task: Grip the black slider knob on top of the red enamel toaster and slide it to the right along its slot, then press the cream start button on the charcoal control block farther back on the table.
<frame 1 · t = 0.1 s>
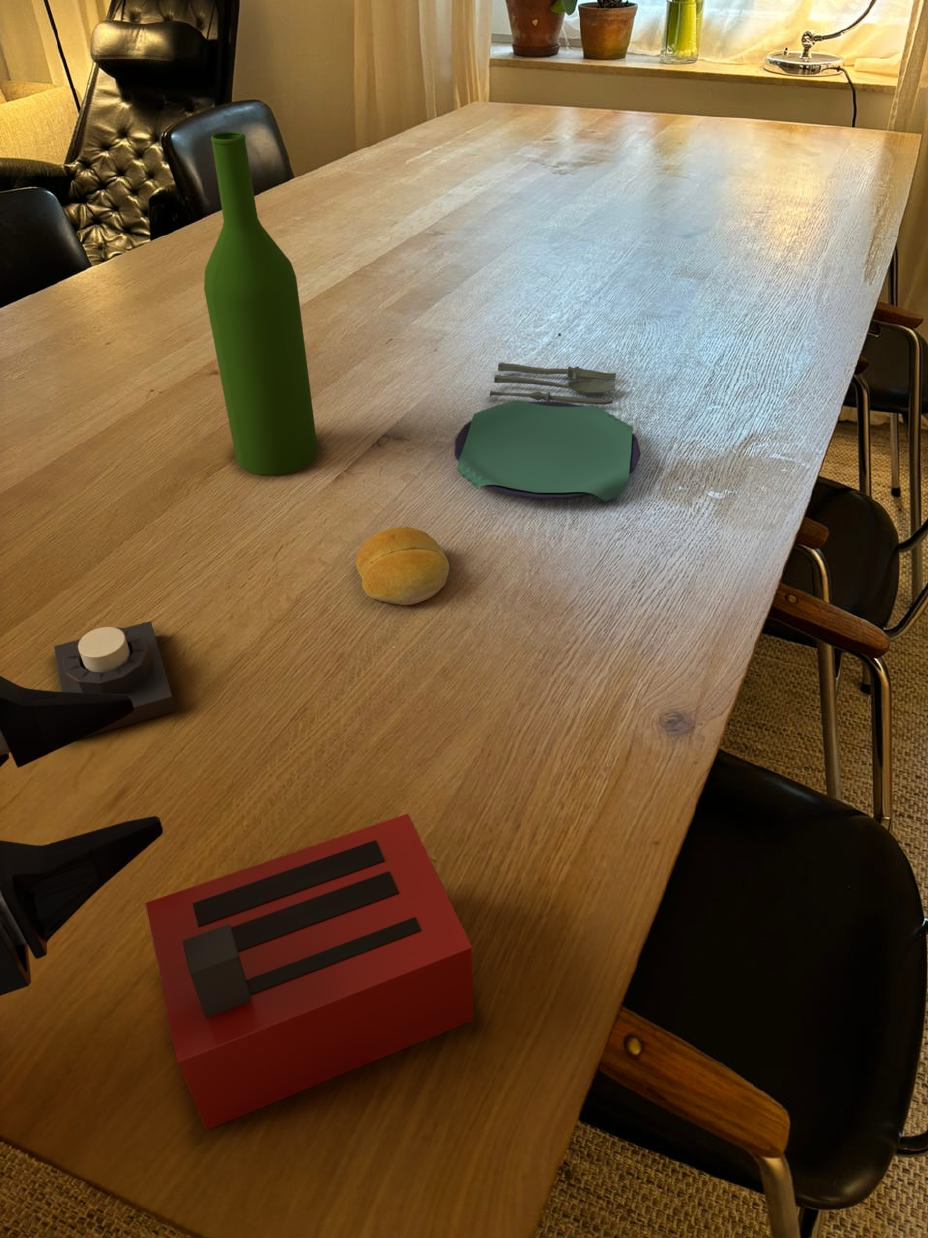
hand: (145, 759, 53), 17 cm above the table, tool horizontal, fingers open, 9 cm apart
wine bottle: (277, 456, 109), on the table
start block: (116, 685, 81), on the table
start button: (104, 649, 79), point 4 cm above the table, slide at 0.1 cm
bread roll: (402, 578, 92), on the table
toaster: (320, 998, 60), on the table
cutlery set: (550, 439, 111), on the table
slider: (217, 971, 50), point 10 cm above the table, slide at 0.0 cm
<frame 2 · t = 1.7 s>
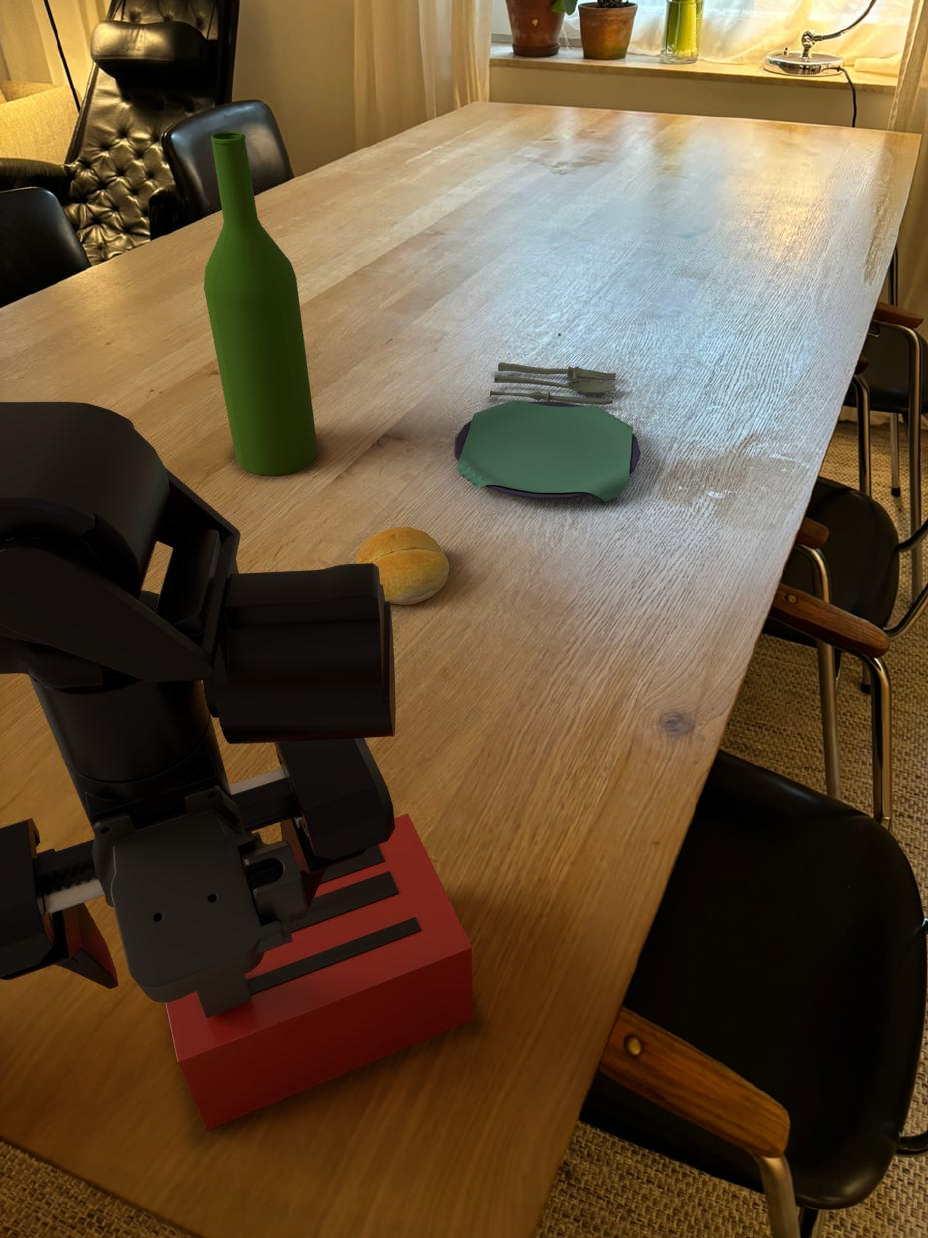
hand: (208, 945, 49), 13 cm above the table, tool pointing down, fingers open, 9 cm apart
nothing on the table moved.
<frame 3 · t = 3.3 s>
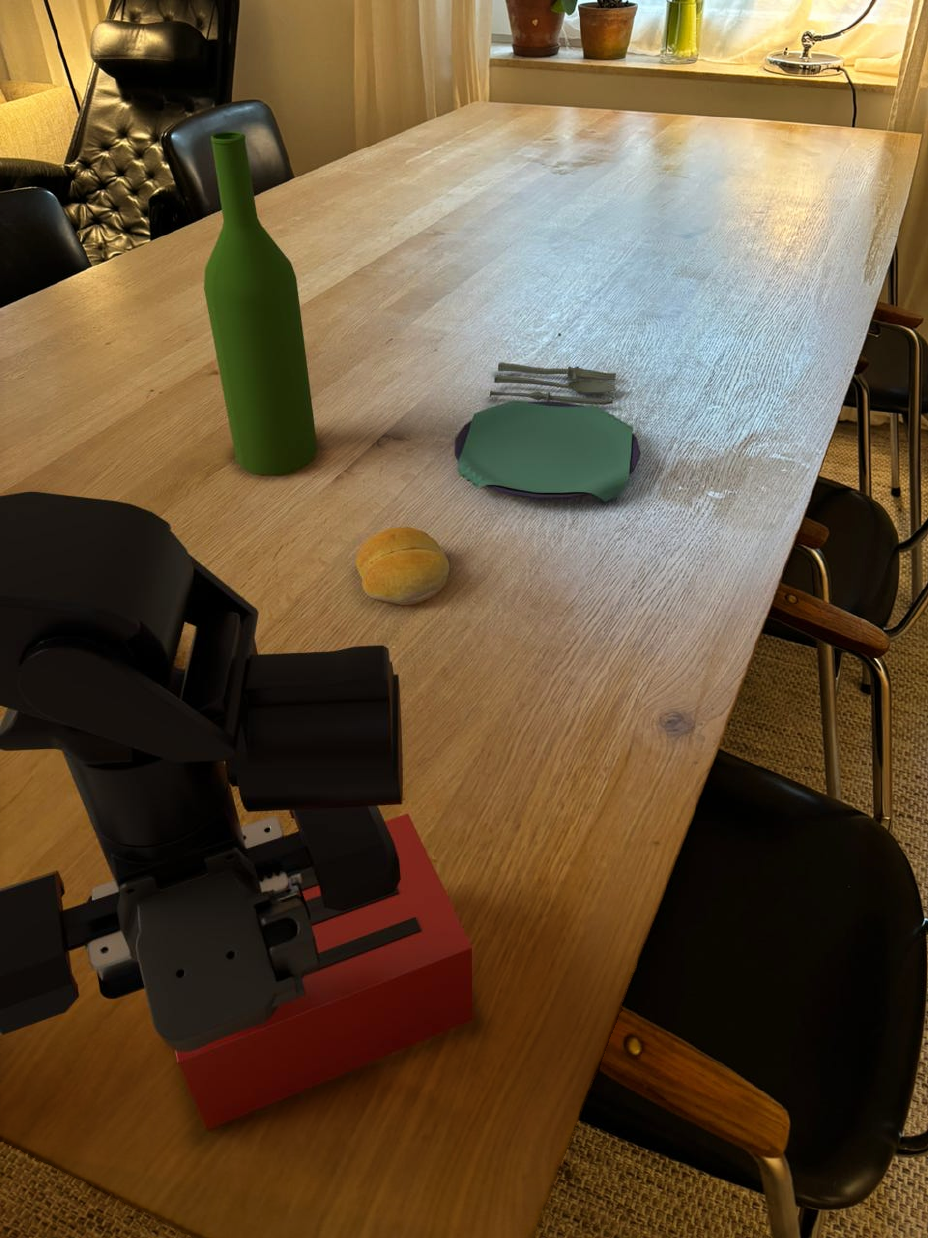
hand: (222, 986, 51), 9 cm above the table, tool pointing down, fingers closed on slider, 2 cm apart
slider: (217, 971, 50), point 10 cm above the table, slide at 0.0 cm, touching gripper
everything else where it was.
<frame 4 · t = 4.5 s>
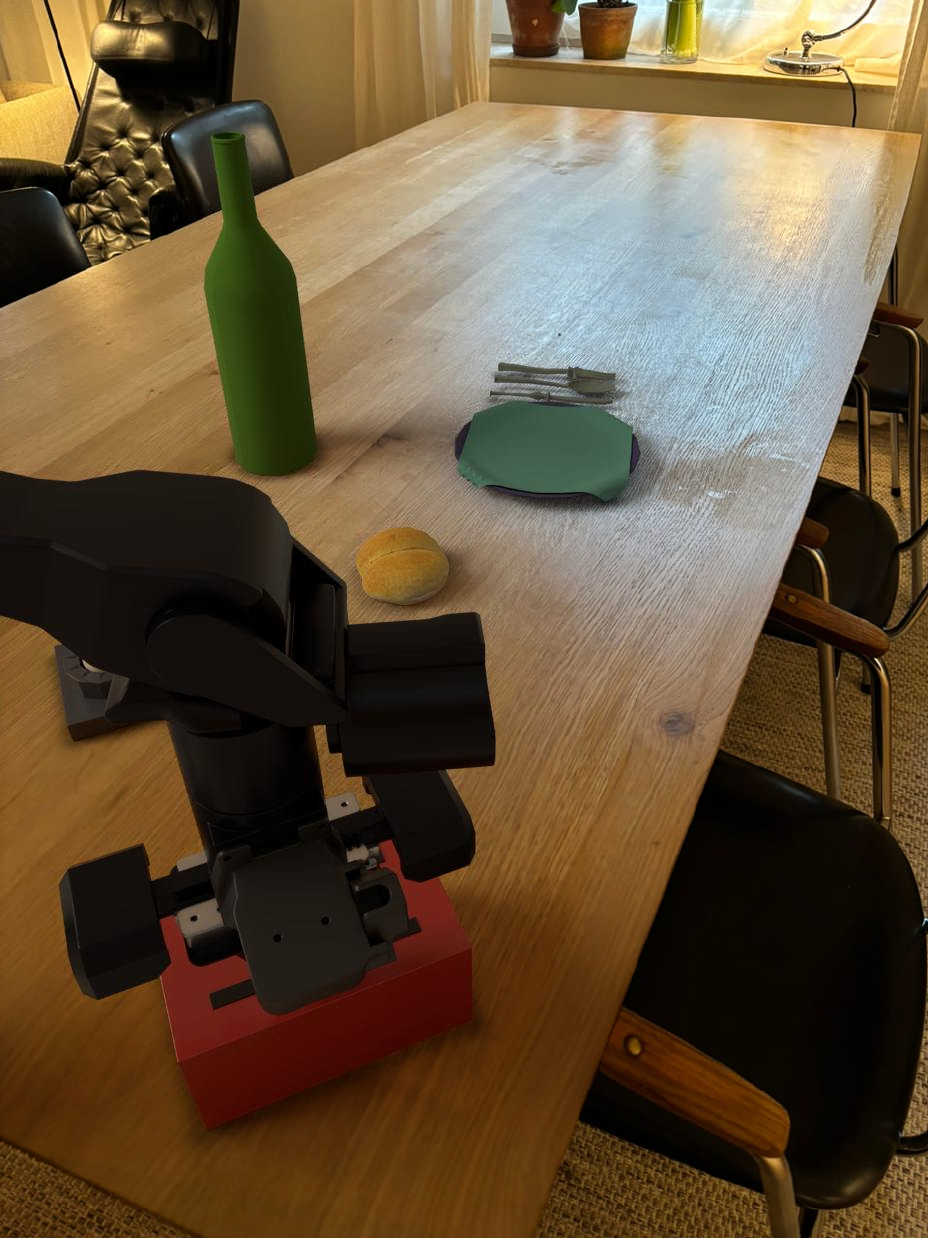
hand: (295, 959, 52), 9 cm above the table, tool pointing down, fingers closed on slider, 2 cm apart
slider: (292, 944, 51), point 10 cm above the table, slide at 3.9 cm, touching gripper
everything else where it was.
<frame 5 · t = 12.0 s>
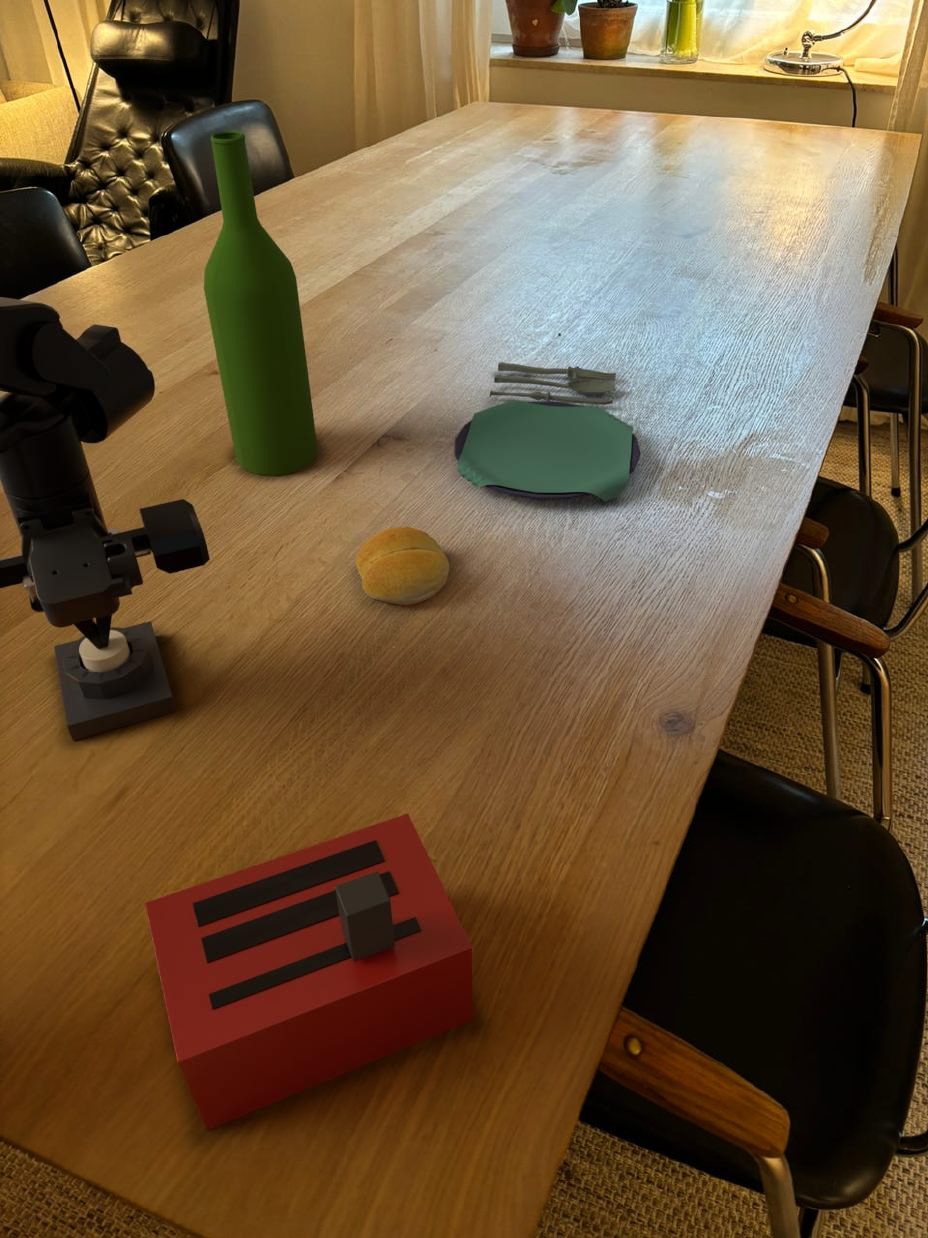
hand: (102, 644, 78), 5 cm above the table, tool pointing down, fingers closed, pressing on start button
start button: (105, 652, 79), point 4 cm above the table, slide at -0.2 cm, touching gripper
slider: (365, 917, 53), point 10 cm above the table, slide at 7.9 cm
everything else where it was.
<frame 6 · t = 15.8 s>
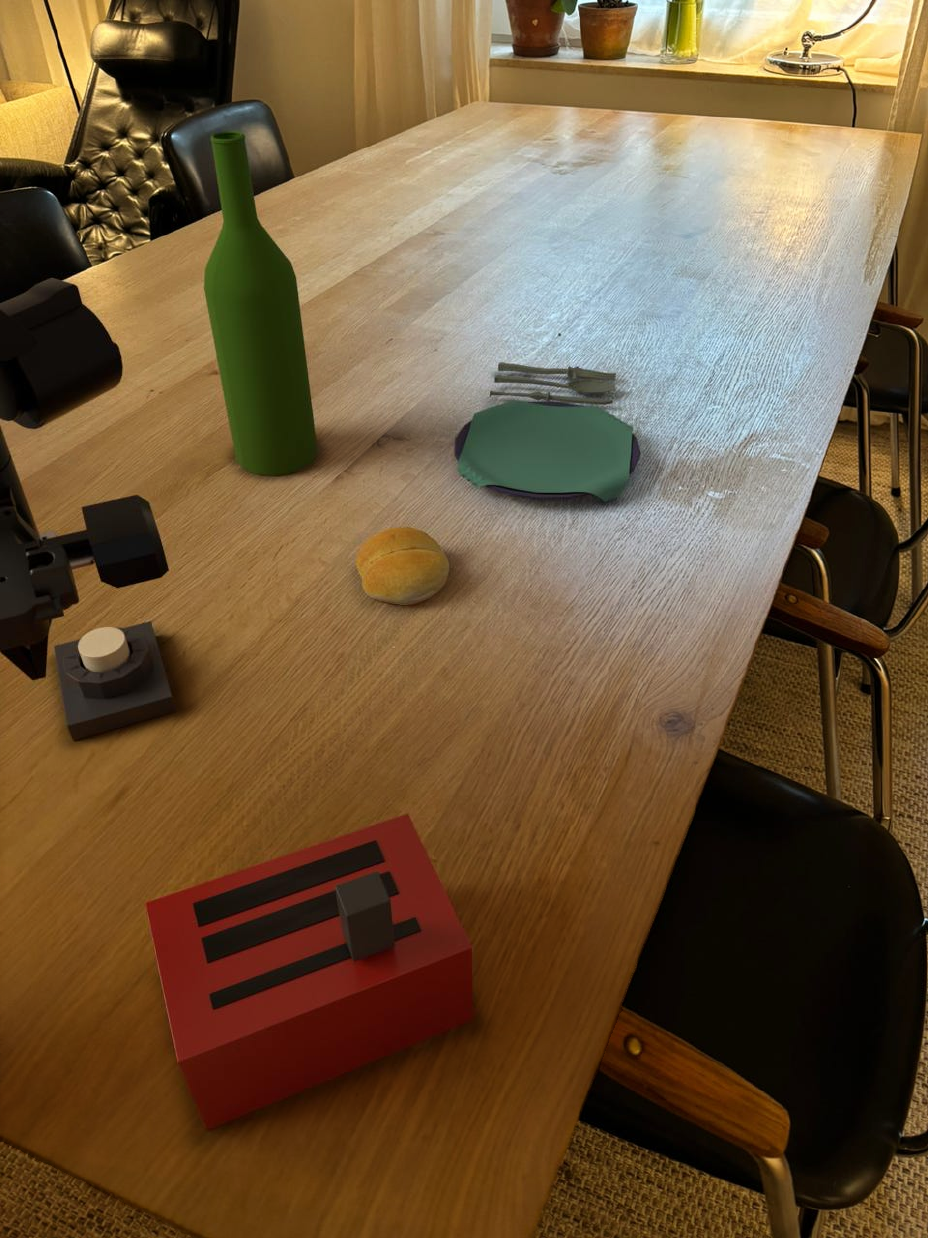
hand: (39, 675, 64), 13 cm above the table, tool pointing down, fingers closed
start button: (104, 649, 79), point 4 cm above the table, slide at 0.1 cm
everything else where it was.
at the end: slider slide at 7.9 cm; start button pushed in 1.1 cm at the most during the clip, back to where it started at the end; start button slide at 0.1 cm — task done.
